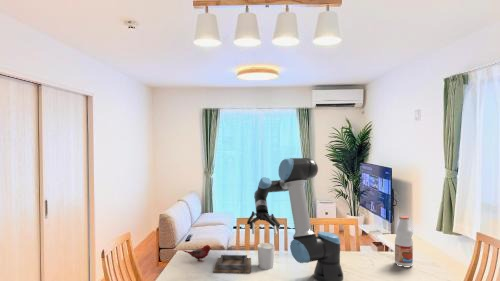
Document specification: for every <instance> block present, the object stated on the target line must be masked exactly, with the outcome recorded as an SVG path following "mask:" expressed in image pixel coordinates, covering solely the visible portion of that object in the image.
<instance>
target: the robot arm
mask: <svg viewBox="0 0 500 281" xmlns="http://www.w3.org/2000/svg"><path fill="white" fill-rule="evenodd" d="M318 172H319V167H318V164H317V162H316V161H315V160H314V159H312V158H310V157H288V158H284V159H282V160H281V161H280V163H279V165H278V176H279V178H280V179H279V180H277V179H275V180H271V178H269V177H261V178H260V179H259V181H258V186H257V189H256V191H255V192H254V204H255V211H252V212H251V214H250V216H249V218H248V219H247V221H246V225H249V227H250V230H251V234H252V235H254V234H255V223H256V222H257V221H265V222H267V223H269V224H270V225H271V226H272V227H273V234H274V237H275V238H276V237H277V235H278V230H279V229H280V227H281V223H280V222H279V221H278V220H277V218H276V217H275V216H274V214H273V213H271V214H270V213H269V209H268V203H267V197H268V194H269V193H278V192H279V193H280V192H288V195H289V200H290V201H289V202H290V208H291V214H292V218H293V219H292V220H293V227H294V231H295V232H294V234H293V235H292V239H293V240H291V241H290V245H289V248H290V249H289V250H290V253H291V255H292V258H294V260H295V261H296V262H297V263H299V264H304V263H305V264H306V263H307V264H308V263H312V262H316V265H315V267H314V271H313V276H314V279H316V280H317V281H343V280H344V272H343V269H342V266H341V239H340V236H339V235H338V234H335V233H333V232H328V231H327V232H326V231H318V232H317V233H316V232H314V231H313V229H312V224H311V218H310V212H309V207H308V201H307V196H306V191H305V190H306V189H305V183H306V182H307V181H309V180H312V179H313V178H315V177H316V176H317V174H318Z"/></svg>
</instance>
